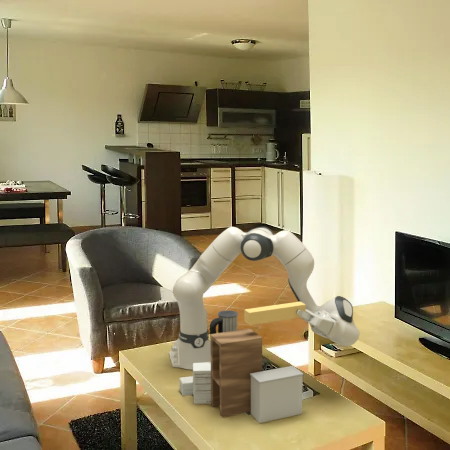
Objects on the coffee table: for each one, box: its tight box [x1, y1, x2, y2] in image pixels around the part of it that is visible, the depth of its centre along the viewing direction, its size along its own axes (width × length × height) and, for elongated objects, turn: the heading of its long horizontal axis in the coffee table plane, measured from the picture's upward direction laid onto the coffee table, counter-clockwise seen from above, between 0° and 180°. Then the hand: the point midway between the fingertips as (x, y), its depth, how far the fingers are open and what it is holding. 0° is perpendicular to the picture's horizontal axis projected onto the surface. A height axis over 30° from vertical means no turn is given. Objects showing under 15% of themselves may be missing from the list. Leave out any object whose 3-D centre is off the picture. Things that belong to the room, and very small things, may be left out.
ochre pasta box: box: [243, 301, 306, 326], centre depth 207 cm, size 4×22×4 cm, turn 113°
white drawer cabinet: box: [192, 362, 211, 405], centre depth 212 cm, size 7×7×13 cm
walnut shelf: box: [209, 328, 263, 418], centre depth 205 cm, size 10×15×26 cm, turn 113°
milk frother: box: [209, 310, 239, 335], centre depth 260 cm, size 14×16×15 cm
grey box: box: [250, 365, 304, 424], centre depth 201 cm, size 7×16×14 cm, turn 113°
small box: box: [179, 375, 194, 397], centre depth 219 cm, size 6×6×5 cm
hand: (293, 309), depth 210 cm, fingers closed on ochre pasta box, 4 cm apart
